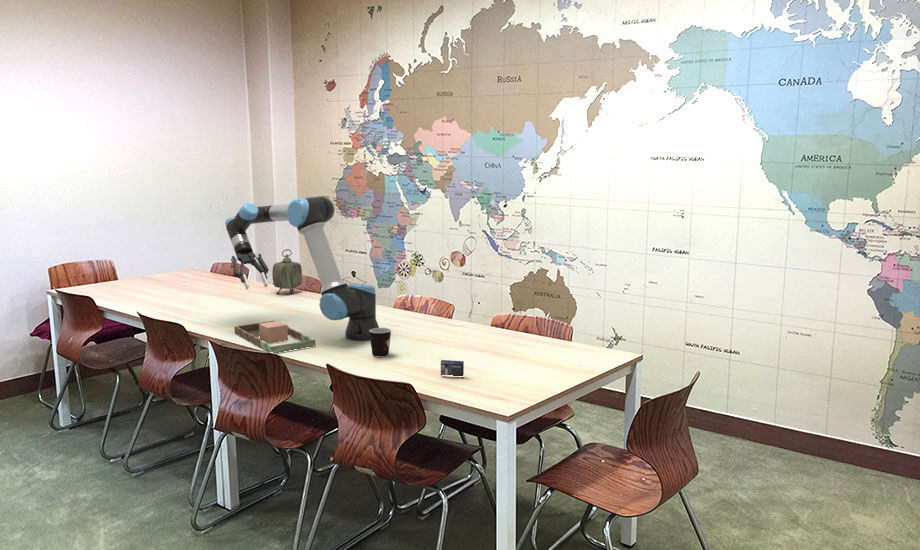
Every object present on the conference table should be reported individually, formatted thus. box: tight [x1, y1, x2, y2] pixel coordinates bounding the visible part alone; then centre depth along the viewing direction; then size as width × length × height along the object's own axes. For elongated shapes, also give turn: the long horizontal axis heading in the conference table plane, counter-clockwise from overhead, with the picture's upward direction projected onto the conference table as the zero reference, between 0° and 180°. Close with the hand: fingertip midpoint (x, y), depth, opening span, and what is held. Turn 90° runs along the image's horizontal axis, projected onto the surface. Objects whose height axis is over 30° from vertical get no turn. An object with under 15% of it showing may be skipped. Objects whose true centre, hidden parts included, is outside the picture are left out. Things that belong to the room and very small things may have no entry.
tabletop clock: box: [271, 248, 303, 296], centre depth 424 cm, size 14×9×25 cm, turn 144°
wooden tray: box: [234, 320, 316, 354], centre depth 328 cm, size 42×19×3 cm, turn 36°
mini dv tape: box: [440, 359, 465, 376], centre depth 277 cm, size 8×2×6 cm, turn 80°
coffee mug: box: [369, 327, 392, 357], centre depth 304 cm, size 12×9×10 cm
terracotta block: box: [259, 320, 289, 344], centre depth 328 cm, size 9×9×7 cm
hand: (257, 286), depth 338 cm, fingers open, 8 cm apart
